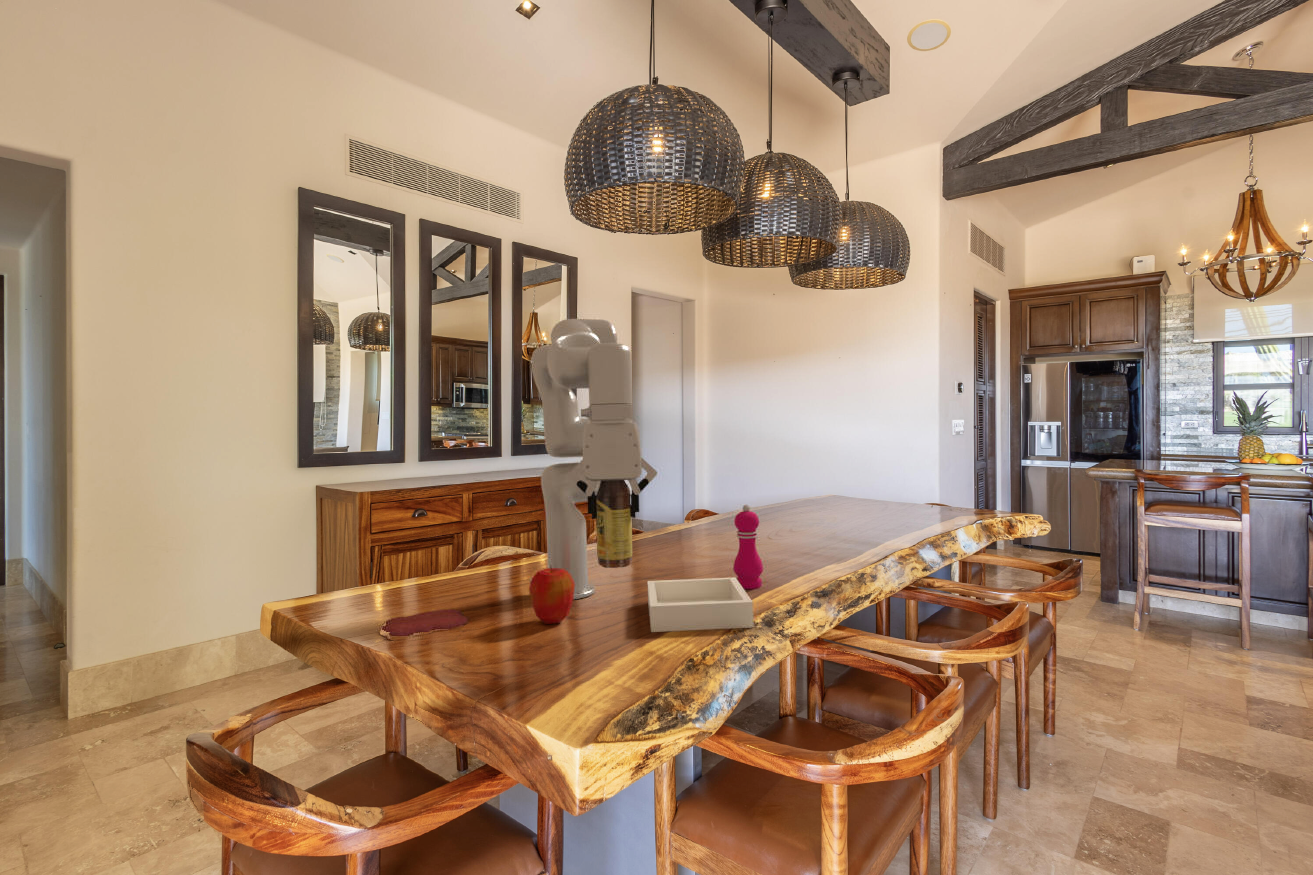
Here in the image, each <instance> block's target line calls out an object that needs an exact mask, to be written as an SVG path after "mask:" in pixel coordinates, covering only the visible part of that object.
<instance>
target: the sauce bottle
mask: <svg viewBox="0 0 1313 875" xmlns="http://www.w3.org/2000/svg"><path fill="white" fill-rule="evenodd" d="M631 494H632V493H631V490H630V487H629V485H628V484H627V483H626V480H612V481H601V483H600V486H599V489H598V492H597V495H596V518H595V523H596V524H595V525H596V530H595V531H596V556H597V563H598V565H599V566H601V567H602V568H606V569H607V568H611V569H616V568H617V569H619V568H626V567H629V566H630V565H631V564H632V562H633V558H632V557H633V522H632V521H633V520H632V518H633V517H631Z"/></svg>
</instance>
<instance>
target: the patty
mask: <svg viewBox="0 0 1313 875" xmlns="http://www.w3.org/2000/svg"><path fill="white" fill-rule="evenodd" d="M462 613H463V612H462V611H460V610H458V609H436V610H430V611H425V612H420V613H417V614H413V615H407V616H399V617H398V616H396V617H393V618H390V619H388V620H386V621H385V622H386V625H385V626H383V625H382V626H383V627H381V628H382V630H384V631H386V632H390V633H389V635H391V636H410V635H413V634H414V633H418V632H419V633H420V632H429V631H431V630H435V629H452V628H455V627H459V626H461V625H464V624H465V623H467V622H468V623H469V619H468V618H467V617H466V616H464V614H463V615H462ZM468 623H467V624H468ZM464 626H465V625H464Z"/></svg>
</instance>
